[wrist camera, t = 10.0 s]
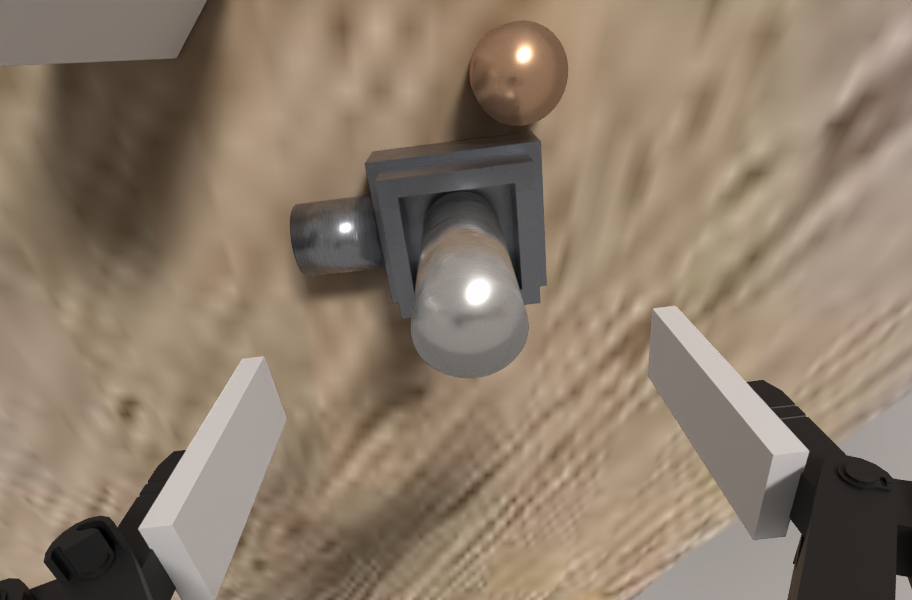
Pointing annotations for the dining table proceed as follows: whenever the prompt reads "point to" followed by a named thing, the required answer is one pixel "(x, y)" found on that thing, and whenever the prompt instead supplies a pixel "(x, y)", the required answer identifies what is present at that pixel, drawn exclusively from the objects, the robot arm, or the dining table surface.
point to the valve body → (407, 202)
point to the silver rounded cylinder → (466, 291)
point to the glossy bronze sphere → (518, 72)
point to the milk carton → (93, 30)
